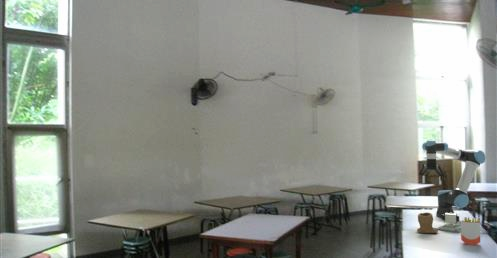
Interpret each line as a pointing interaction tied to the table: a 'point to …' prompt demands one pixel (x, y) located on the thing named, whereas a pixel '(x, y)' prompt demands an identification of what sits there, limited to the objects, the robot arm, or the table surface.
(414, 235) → the table surface
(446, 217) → the pneumatic valve
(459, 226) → the docking tray
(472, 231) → the french fries container
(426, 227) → the stone cup
